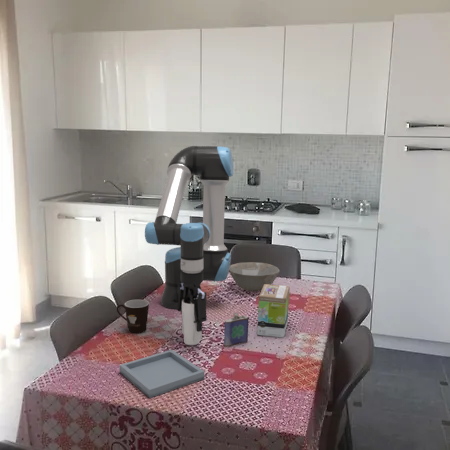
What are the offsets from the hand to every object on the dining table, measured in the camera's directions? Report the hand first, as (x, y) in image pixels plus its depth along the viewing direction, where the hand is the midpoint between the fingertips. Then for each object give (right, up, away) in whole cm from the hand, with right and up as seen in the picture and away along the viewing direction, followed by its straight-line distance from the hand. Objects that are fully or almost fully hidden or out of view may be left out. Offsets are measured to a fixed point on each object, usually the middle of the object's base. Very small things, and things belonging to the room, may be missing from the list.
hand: (191, 336), depth 170 cm
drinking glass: (0, -3, 0) cm, 3 cm away
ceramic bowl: (+24, +8, +58) cm, 64 cm away
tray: (-7, -7, -22) cm, 25 cm away
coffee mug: (-21, 0, +12) cm, 24 cm away
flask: (+15, -3, +1) cm, 15 cm away
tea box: (+29, -1, +14) cm, 32 cm away
